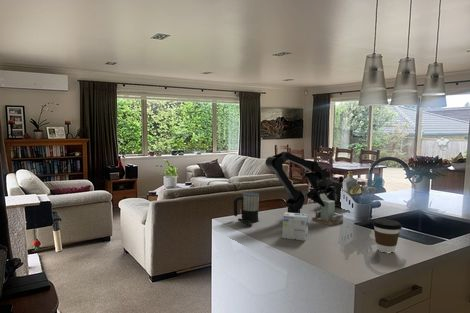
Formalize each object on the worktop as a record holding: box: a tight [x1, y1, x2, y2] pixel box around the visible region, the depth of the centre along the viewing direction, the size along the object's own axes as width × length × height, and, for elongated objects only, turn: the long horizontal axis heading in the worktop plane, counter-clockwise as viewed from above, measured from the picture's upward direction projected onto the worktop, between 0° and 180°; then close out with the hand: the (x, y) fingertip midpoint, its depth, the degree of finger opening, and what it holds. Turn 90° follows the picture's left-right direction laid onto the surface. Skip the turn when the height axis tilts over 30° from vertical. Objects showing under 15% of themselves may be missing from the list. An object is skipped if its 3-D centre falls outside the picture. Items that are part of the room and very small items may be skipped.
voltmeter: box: [326, 175, 344, 208], centre depth 217 cm, size 16×16×20 cm
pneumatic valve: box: [320, 194, 337, 201], centre depth 207 cm, size 6×12×12 cm, turn 51°
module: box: [320, 199, 336, 221], centre depth 179 cm, size 5×5×10 cm
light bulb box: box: [281, 211, 309, 242], centre depth 151 cm, size 11×7×11 cm, turn 71°
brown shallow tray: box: [311, 210, 344, 226], centre depth 179 cm, size 10×12×4 cm
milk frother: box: [232, 191, 260, 227], centre depth 174 cm, size 14×16×15 cm
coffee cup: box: [371, 218, 403, 253], centre depth 136 cm, size 11×11×12 cm
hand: (330, 205), depth 177 cm, fingers open, 9 cm apart
